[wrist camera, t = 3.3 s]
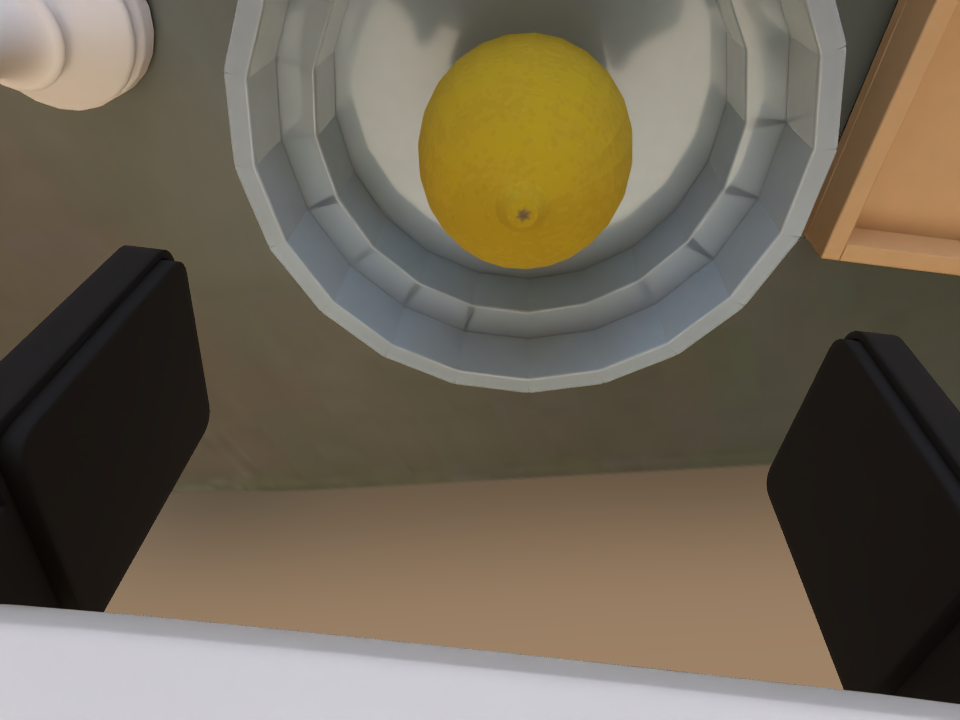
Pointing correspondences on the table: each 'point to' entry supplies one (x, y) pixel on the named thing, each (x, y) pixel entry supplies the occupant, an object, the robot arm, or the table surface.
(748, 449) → the table surface
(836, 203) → the tray
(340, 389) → the table surface
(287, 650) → the robot arm
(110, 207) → the table surface
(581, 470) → the table surface
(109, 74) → the chess pawn
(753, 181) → the bowl
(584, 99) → the lemon
